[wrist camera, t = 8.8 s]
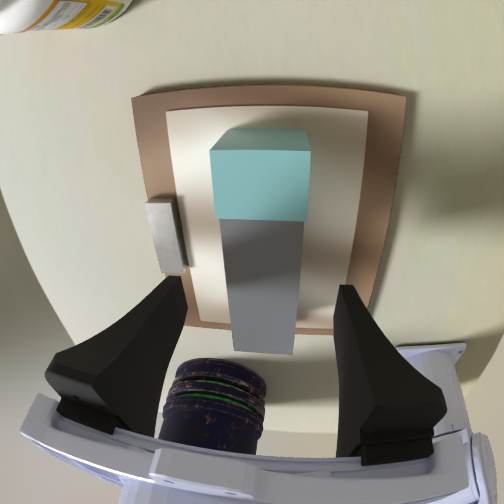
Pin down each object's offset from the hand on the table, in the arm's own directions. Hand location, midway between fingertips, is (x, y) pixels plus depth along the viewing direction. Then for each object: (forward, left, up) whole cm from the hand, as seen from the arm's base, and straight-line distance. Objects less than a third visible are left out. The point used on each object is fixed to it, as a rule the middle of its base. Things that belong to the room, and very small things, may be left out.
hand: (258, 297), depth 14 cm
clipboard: (0, 0, -6) cm, 6 cm away
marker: (0, 0, -5) cm, 5 cm away
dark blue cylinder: (-19, +5, -6) cm, 21 cm away
